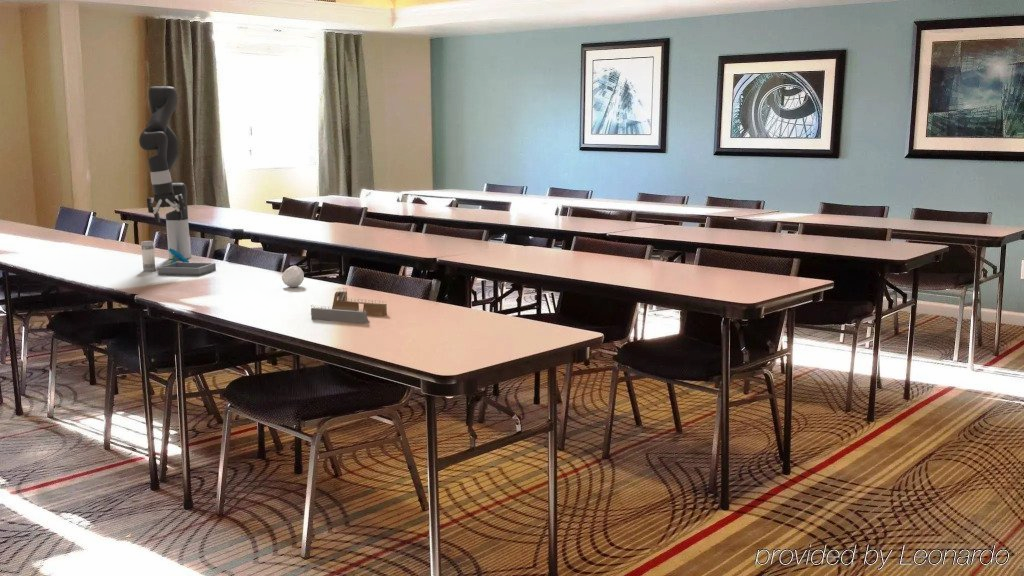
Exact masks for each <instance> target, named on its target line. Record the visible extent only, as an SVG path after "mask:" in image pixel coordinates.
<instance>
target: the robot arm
mask: <svg viewBox="0 0 1024 576" xmlns="http://www.w3.org/2000/svg"><path fill="white" fill-rule="evenodd" d="M178 100H179V99H178V93H177V90H176V88H175V87H173V86H169V85H167V86H162V85H161V86H150V87H149V89H148V101H149V107H150V108H149V109H150V113H151V116H150V118H149V121H148V124H147V126H146V127H145V128H144V129H143V131H142V132H141V133H140V135H139V138H138V139H139V140H138V142H139V146H140V148H141V149H142V150H144V151H146V152H147V151H155V153H156V154H154V155H152V156H150V157H148V159H147V161H148V168H149V173H150V182H151V185H152V191H153V196H154V197H148V198H146V204H147V212H148V213H150V214H153V216H154V220H155V222H156V223H157V224H159V223H161V217H160V213H159V211H160V209H161V208H166V207H167V208H171V207H172V208H173V209H174V210H171V211H169V212H167V213H166V214H165V223H166V224H165V225H166V235H167V238H166V239H167V251H168V250H169V249H170V248H171V249H174V250H175V251H177V252H179V254H181V255H183V256H184V258H186V259H190V258H192V246H191V236H190V228H189V227H190V226H189V215H188V214H189V213H188V212H189V211H188V210H189V209H188V188H187V186H186V184H185V183H184V182H172V177H171V173H170V172H171V171H172V169H173V167H174V165H175V164H176V161H177V159H178V157H179V154H180V149H179V143H178V141H179V139H178V137H177V135H176V134H175V132H174V130H172V129H171V127H170V125H168V123H169V120H170V119H171V117H172V115H173V113H174V112H175V109H176V108H177V105H178ZM153 203H156V205H155V208H154V207H153ZM172 256H173V255H172V254H171V252H169V251H168V259H170V260H173V259H172V258H173V257H172Z"/></svg>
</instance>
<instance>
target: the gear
mask: <svg viewBox="0 0 1024 576" xmlns="http://www.w3.org/2000/svg"><path fill="white" fill-rule="evenodd" d="M167 251H169V252H171V254H172V255H173V256H172V257H173V258H172V259H171V261H170V262H169V263H168V264H171V263H175V262H178V261H179V262H190V261H189V260H188V258H184V256H183V255H181V254H179V252H177V251H175V250H174V249H171V248H170V249H169V250H168V249H167Z"/></svg>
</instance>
